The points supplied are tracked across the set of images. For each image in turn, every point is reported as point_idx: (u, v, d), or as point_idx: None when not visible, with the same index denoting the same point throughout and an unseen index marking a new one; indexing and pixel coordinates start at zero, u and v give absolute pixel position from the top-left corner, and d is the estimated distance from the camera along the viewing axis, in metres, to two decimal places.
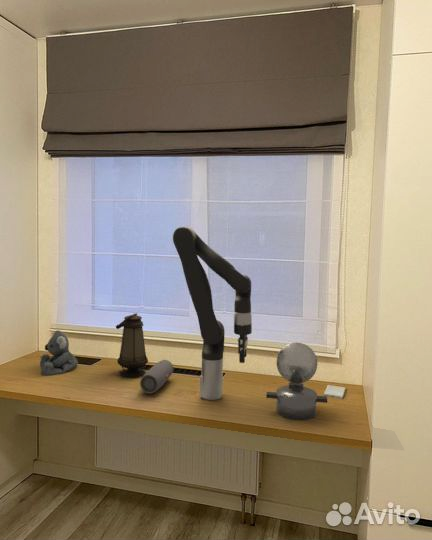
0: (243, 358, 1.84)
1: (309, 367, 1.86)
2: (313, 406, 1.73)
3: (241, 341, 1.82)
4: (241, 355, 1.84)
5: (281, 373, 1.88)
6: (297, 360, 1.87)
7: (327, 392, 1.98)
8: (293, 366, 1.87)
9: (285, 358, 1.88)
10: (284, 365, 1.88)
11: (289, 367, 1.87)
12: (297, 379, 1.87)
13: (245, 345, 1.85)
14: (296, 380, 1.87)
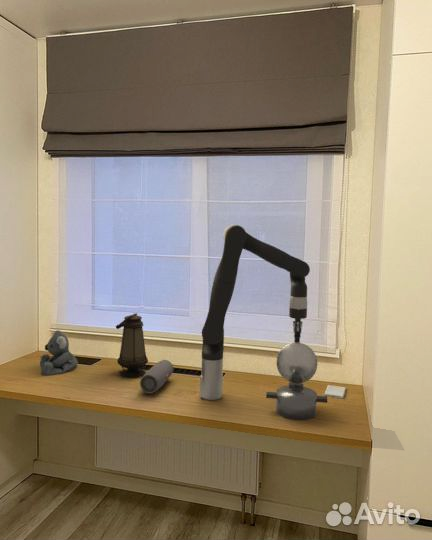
0: (298, 342, 1.92)
1: (309, 367, 1.86)
2: (313, 406, 1.73)
3: (298, 330, 1.86)
4: (296, 339, 1.91)
5: (281, 373, 1.88)
6: (297, 360, 1.87)
7: (328, 392, 1.98)
8: (293, 366, 1.87)
9: (285, 358, 1.88)
10: (284, 365, 1.88)
11: (289, 367, 1.87)
12: (297, 379, 1.87)
13: (300, 330, 1.90)
14: (296, 380, 1.87)
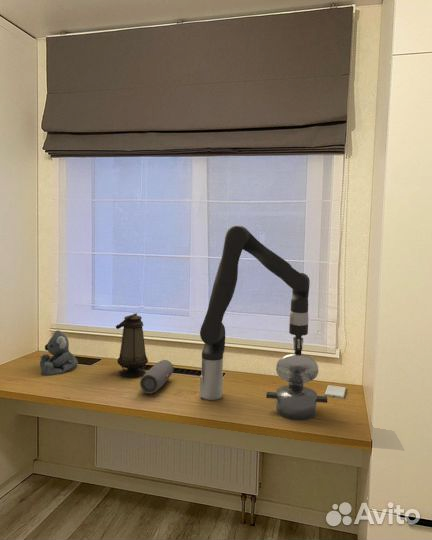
0: None
1: (310, 374, 1.82)
2: (313, 406, 1.73)
3: (298, 347, 1.75)
4: None
5: (281, 377, 1.85)
6: (298, 368, 1.81)
7: (328, 392, 1.98)
8: (293, 372, 1.83)
9: (285, 367, 1.81)
10: (284, 371, 1.83)
11: (289, 373, 1.83)
12: (297, 381, 1.86)
13: None
14: (296, 381, 1.86)
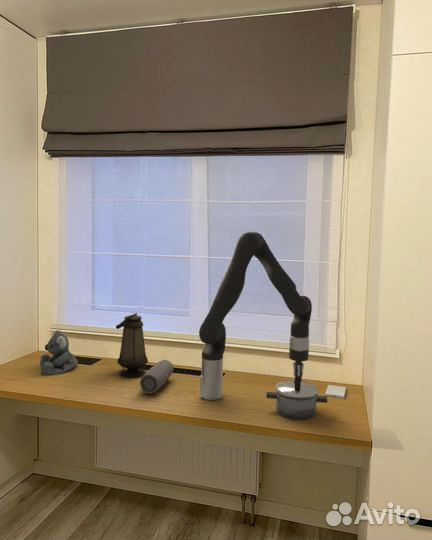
0: None
1: None
2: (313, 406, 1.73)
3: (298, 374, 1.68)
4: (297, 383, 1.73)
5: None
6: None
7: (328, 392, 1.98)
8: None
9: None
10: None
11: None
12: None
13: (301, 373, 1.72)
14: None
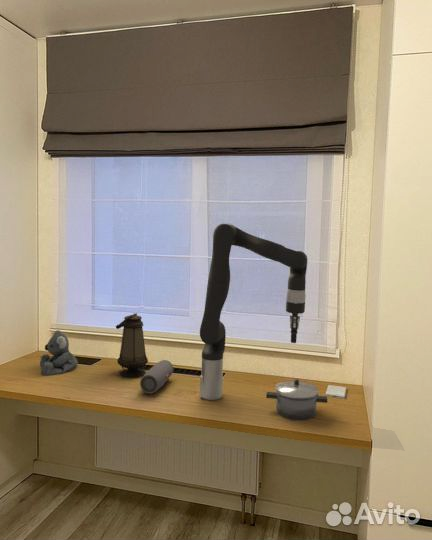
0: (295, 338, 1.79)
1: None
2: (313, 406, 1.73)
3: (294, 325, 1.74)
4: (293, 335, 1.79)
5: None
6: None
7: (329, 392, 1.98)
8: None
9: None
10: None
11: None
12: None
13: (297, 326, 1.78)
14: None
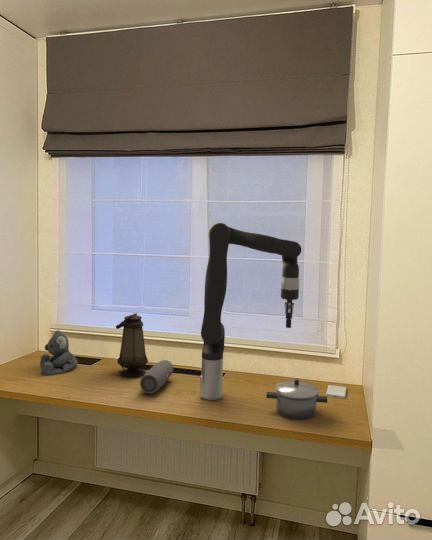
0: (290, 323, 1.90)
1: None
2: (313, 406, 1.73)
3: (289, 310, 1.85)
4: (288, 320, 1.90)
5: None
6: None
7: (329, 392, 1.98)
8: None
9: None
10: None
11: None
12: None
13: (292, 311, 1.89)
14: None
